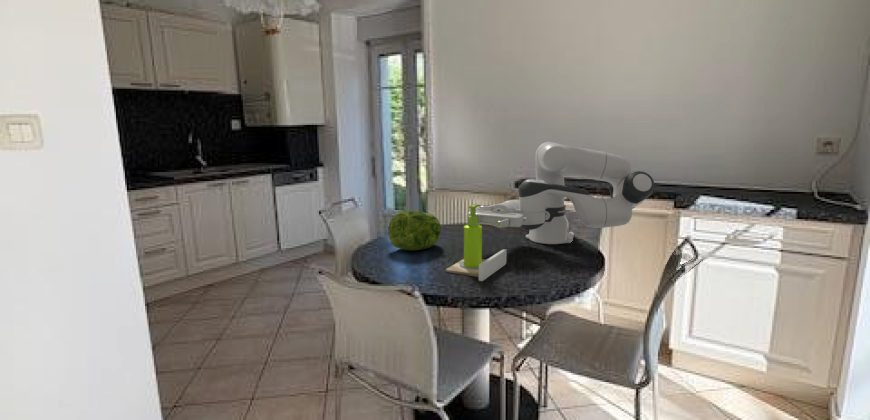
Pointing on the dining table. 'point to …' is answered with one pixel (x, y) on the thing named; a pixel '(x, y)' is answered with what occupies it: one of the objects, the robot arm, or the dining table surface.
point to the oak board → (463, 269)
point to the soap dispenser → (472, 240)
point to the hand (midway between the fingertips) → (486, 222)
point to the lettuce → (414, 230)
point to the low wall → (492, 264)
